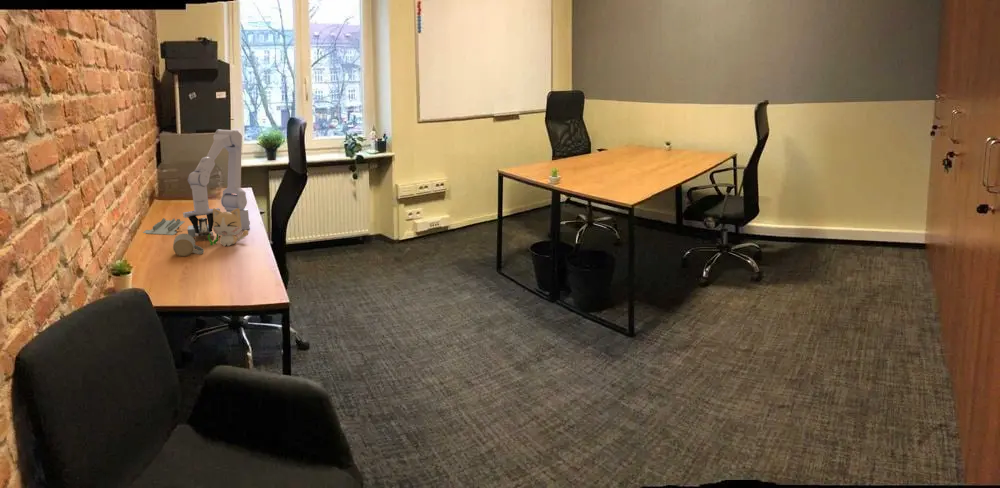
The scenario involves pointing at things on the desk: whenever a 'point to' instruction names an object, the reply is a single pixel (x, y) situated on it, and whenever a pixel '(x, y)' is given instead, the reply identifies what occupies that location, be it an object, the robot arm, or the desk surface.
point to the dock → (193, 230)
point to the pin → (203, 226)
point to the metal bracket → (165, 227)
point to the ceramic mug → (186, 245)
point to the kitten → (227, 227)
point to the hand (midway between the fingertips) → (203, 232)
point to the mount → (203, 237)
